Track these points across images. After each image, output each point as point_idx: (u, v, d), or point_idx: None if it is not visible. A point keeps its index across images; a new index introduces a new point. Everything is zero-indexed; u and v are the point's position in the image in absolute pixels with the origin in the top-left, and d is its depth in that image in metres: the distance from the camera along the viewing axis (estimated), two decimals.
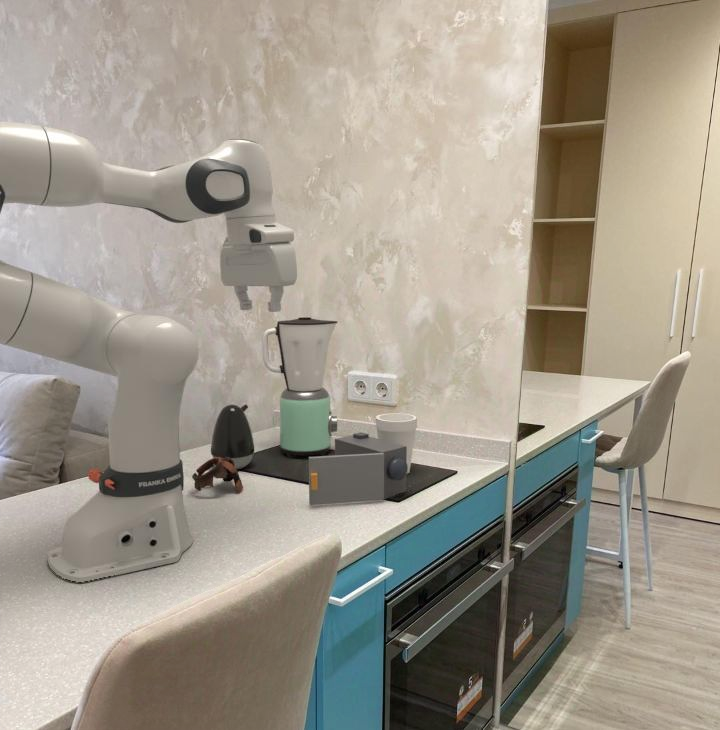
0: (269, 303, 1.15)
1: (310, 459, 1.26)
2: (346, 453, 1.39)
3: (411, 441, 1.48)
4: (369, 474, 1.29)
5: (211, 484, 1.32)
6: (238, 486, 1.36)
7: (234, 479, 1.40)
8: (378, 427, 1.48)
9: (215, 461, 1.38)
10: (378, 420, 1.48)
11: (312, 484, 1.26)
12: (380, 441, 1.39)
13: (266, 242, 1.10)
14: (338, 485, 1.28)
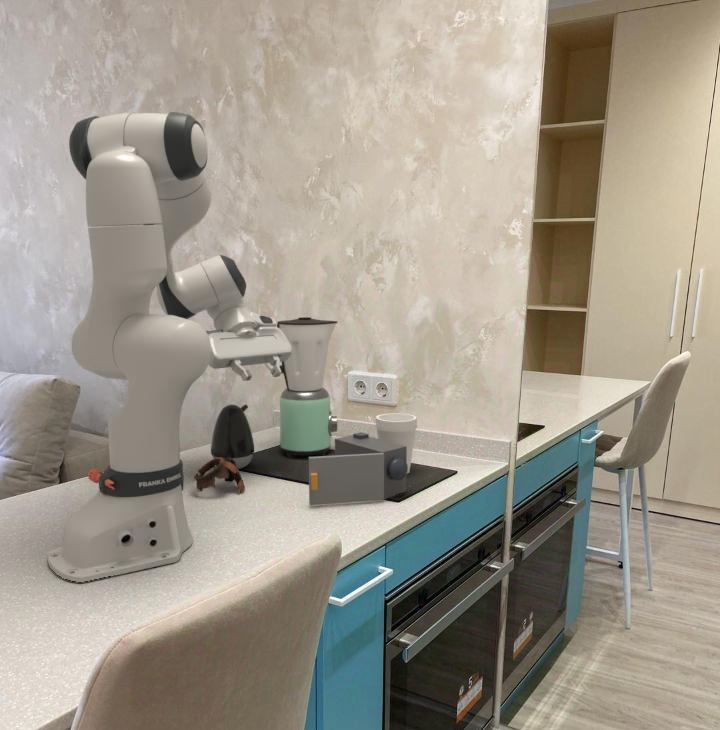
0: (276, 367, 1.42)
1: (310, 459, 1.26)
2: (346, 453, 1.39)
3: (411, 441, 1.48)
4: (369, 474, 1.29)
5: (213, 484, 1.32)
6: (240, 486, 1.36)
7: (236, 479, 1.40)
8: (378, 427, 1.48)
9: (217, 461, 1.38)
10: (378, 420, 1.48)
11: (312, 484, 1.26)
12: (380, 441, 1.39)
13: (275, 324, 1.49)
14: (338, 485, 1.28)
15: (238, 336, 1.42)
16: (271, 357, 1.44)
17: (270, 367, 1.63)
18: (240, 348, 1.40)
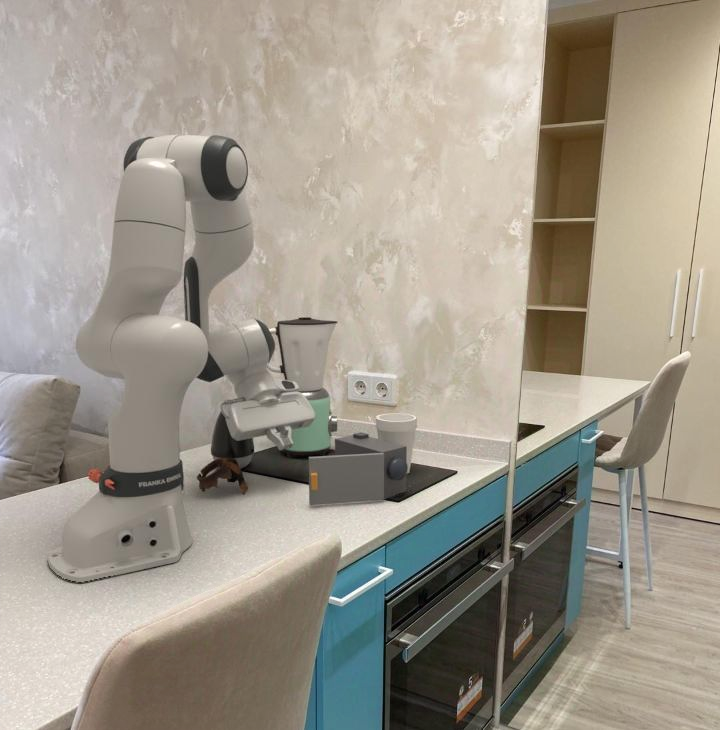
0: (288, 438, 1.36)
1: (310, 459, 1.26)
2: (346, 453, 1.39)
3: (411, 441, 1.48)
4: (369, 474, 1.29)
5: (216, 485, 1.32)
6: (243, 487, 1.35)
7: (238, 480, 1.40)
8: (378, 427, 1.48)
9: (219, 462, 1.38)
10: (378, 420, 1.48)
11: (312, 484, 1.26)
12: (380, 441, 1.39)
13: None
14: (338, 485, 1.28)
15: (261, 404, 1.37)
16: (282, 427, 1.38)
17: (270, 367, 1.63)
18: (263, 418, 1.35)
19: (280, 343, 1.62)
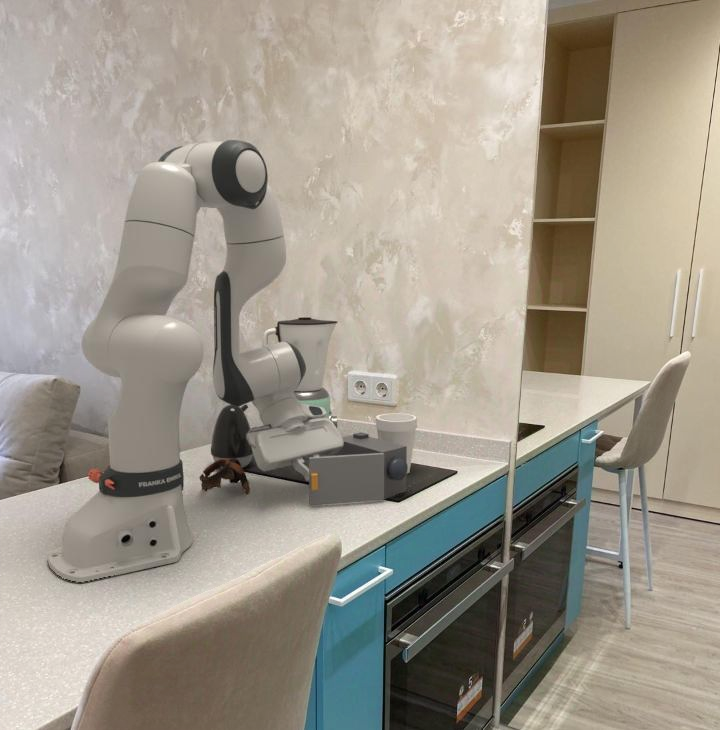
0: None
1: (310, 459, 1.26)
2: (346, 453, 1.39)
3: (411, 441, 1.48)
4: (369, 474, 1.29)
5: (219, 485, 1.31)
6: (246, 487, 1.35)
7: (241, 480, 1.40)
8: (378, 427, 1.48)
9: (222, 462, 1.37)
10: (378, 420, 1.48)
11: (312, 484, 1.25)
12: (380, 441, 1.39)
13: (325, 415, 1.38)
14: (338, 485, 1.28)
15: (288, 432, 1.31)
16: (311, 456, 1.32)
17: None
18: (291, 447, 1.29)
19: None
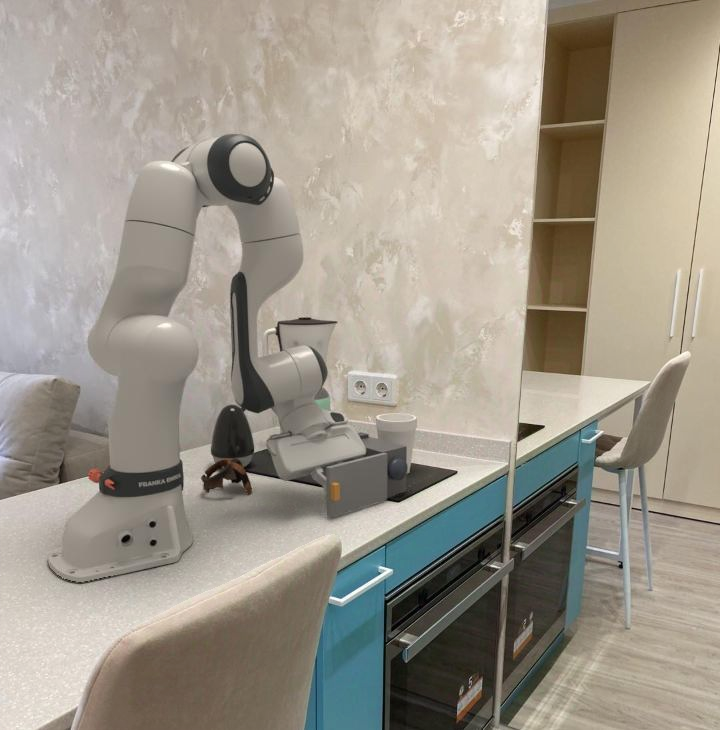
0: None
1: (330, 469, 1.20)
2: None
3: (411, 441, 1.48)
4: (376, 476, 1.28)
5: (221, 486, 1.31)
6: (247, 487, 1.35)
7: (243, 480, 1.39)
8: (378, 427, 1.48)
9: (224, 462, 1.37)
10: (378, 420, 1.48)
11: (335, 494, 1.20)
12: (380, 441, 1.39)
13: (347, 421, 1.32)
14: (352, 492, 1.24)
15: (309, 440, 1.25)
16: None
17: None
18: (312, 455, 1.23)
19: (280, 343, 1.62)
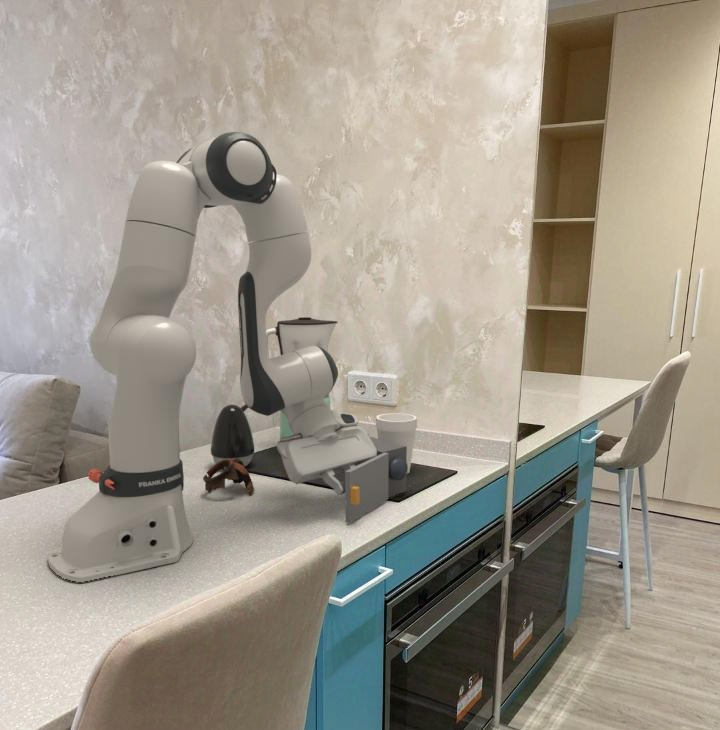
0: None
1: (350, 473, 1.17)
2: None
3: (411, 441, 1.48)
4: (381, 476, 1.28)
5: (223, 486, 1.31)
6: (250, 488, 1.35)
7: (244, 481, 1.39)
8: (378, 427, 1.48)
9: (226, 463, 1.37)
10: (378, 420, 1.48)
11: (356, 498, 1.17)
12: (380, 441, 1.39)
13: (357, 423, 1.31)
14: (365, 494, 1.23)
15: (320, 442, 1.23)
16: (347, 466, 1.25)
17: None
18: (324, 458, 1.21)
19: (280, 343, 1.62)
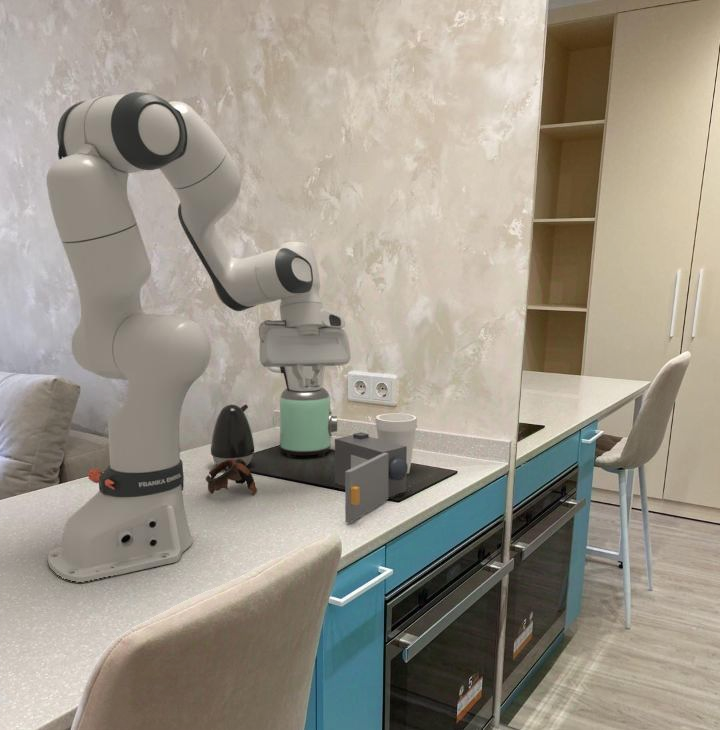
0: (316, 379, 1.32)
1: (350, 473, 1.17)
2: (346, 453, 1.39)
3: (411, 441, 1.48)
4: (381, 476, 1.28)
5: (226, 486, 1.31)
6: (252, 488, 1.34)
7: (247, 481, 1.39)
8: (378, 427, 1.48)
9: (228, 463, 1.37)
10: (378, 420, 1.48)
11: (356, 498, 1.17)
12: (380, 441, 1.39)
13: (343, 326, 1.36)
14: (365, 494, 1.23)
15: (300, 336, 1.30)
16: (315, 364, 1.33)
17: (270, 367, 1.63)
18: (297, 352, 1.29)
19: None
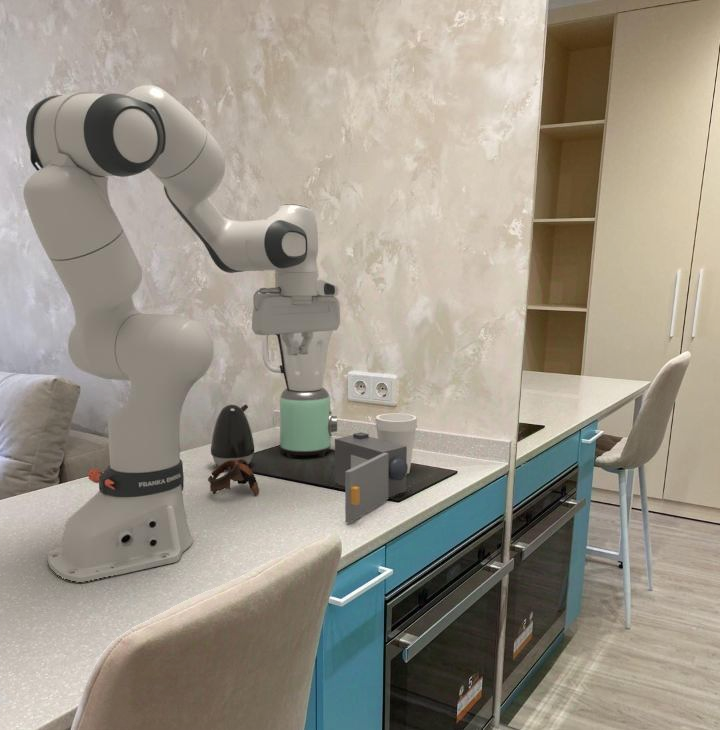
0: (305, 347, 1.34)
1: (350, 473, 1.17)
2: (346, 453, 1.39)
3: (411, 441, 1.48)
4: (381, 476, 1.28)
5: (229, 487, 1.31)
6: (255, 488, 1.34)
7: (249, 481, 1.39)
8: (378, 427, 1.48)
9: (230, 463, 1.36)
10: (378, 420, 1.48)
11: (356, 498, 1.17)
12: (380, 441, 1.39)
13: (336, 294, 1.36)
14: (365, 494, 1.23)
15: (293, 305, 1.30)
16: (305, 331, 1.34)
17: (270, 367, 1.63)
18: (289, 322, 1.30)
19: (280, 343, 1.62)
